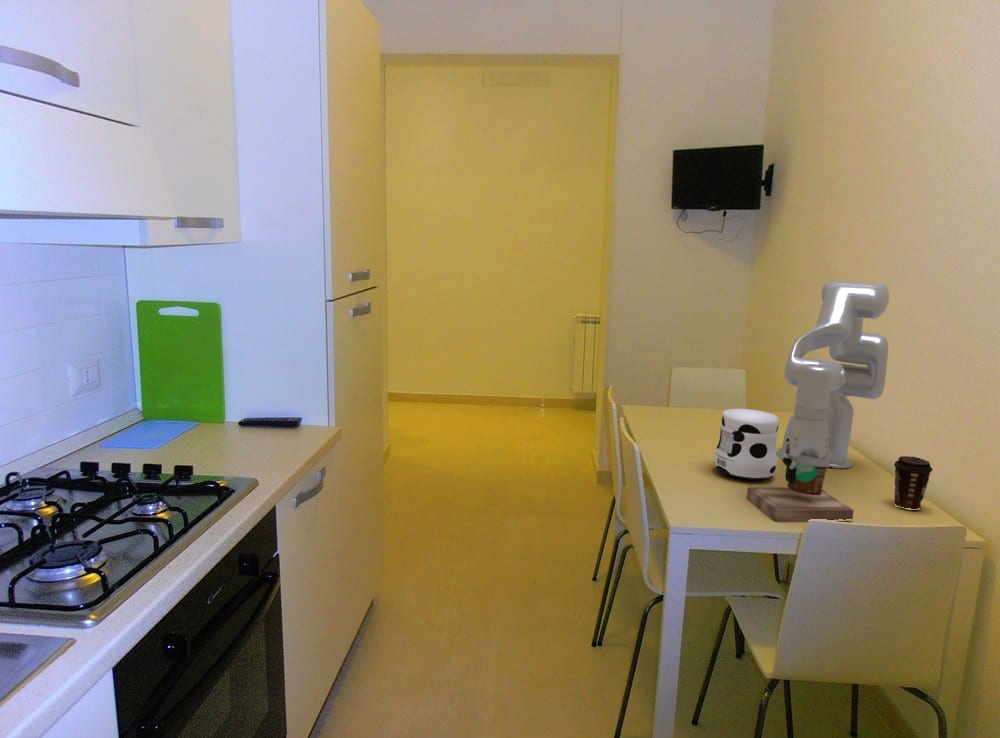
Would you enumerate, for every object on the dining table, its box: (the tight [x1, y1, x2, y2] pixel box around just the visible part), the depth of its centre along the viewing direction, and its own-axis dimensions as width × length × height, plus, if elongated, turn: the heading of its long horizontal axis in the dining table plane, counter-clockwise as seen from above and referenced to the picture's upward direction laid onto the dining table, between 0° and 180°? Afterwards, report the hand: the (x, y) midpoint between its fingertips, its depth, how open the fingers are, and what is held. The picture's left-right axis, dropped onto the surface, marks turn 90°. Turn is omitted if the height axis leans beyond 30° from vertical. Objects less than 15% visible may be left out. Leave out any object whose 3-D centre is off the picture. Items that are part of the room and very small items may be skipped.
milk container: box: [714, 408, 779, 481], centre depth 211 cm, size 17×17×18 cm
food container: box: [785, 452, 830, 495], centre depth 185 cm, size 12×6×10 cm, turn 15°
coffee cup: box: [893, 455, 933, 509], centre depth 192 cm, size 9×8×13 cm
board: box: [746, 486, 855, 523], centre depth 187 cm, size 16×20×3 cm
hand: (801, 481), depth 186 cm, fingers closed on food container, 5 cm apart
